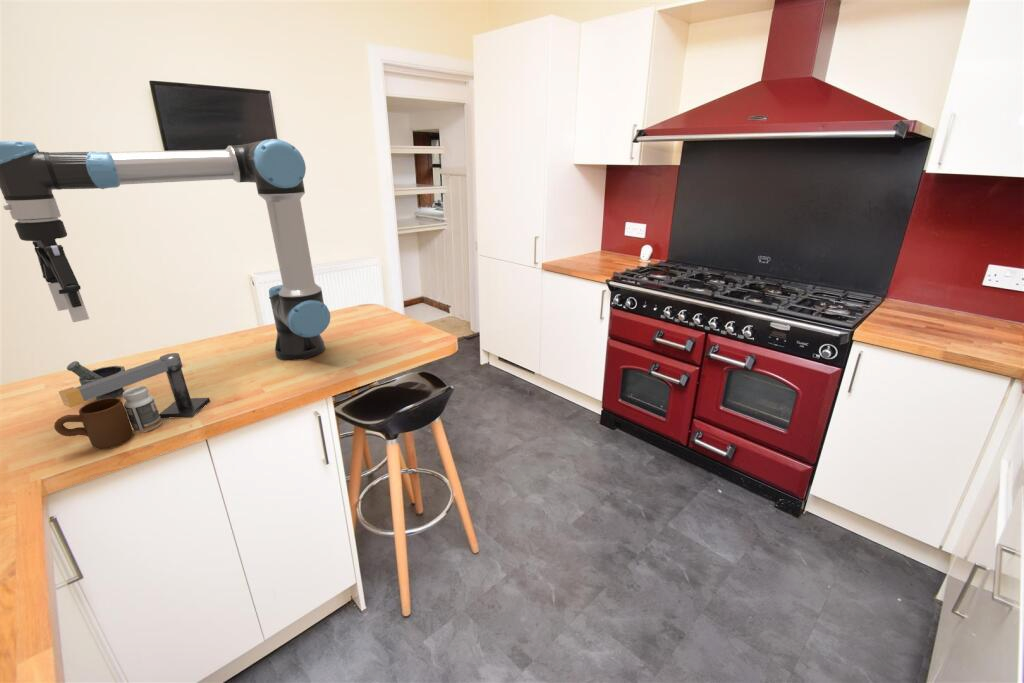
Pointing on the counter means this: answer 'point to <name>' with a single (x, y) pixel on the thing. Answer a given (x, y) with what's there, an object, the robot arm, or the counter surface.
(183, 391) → the post
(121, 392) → the mortar and pestle
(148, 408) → the pill bottle
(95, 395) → the bar
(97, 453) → the counter surface
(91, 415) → the mug
